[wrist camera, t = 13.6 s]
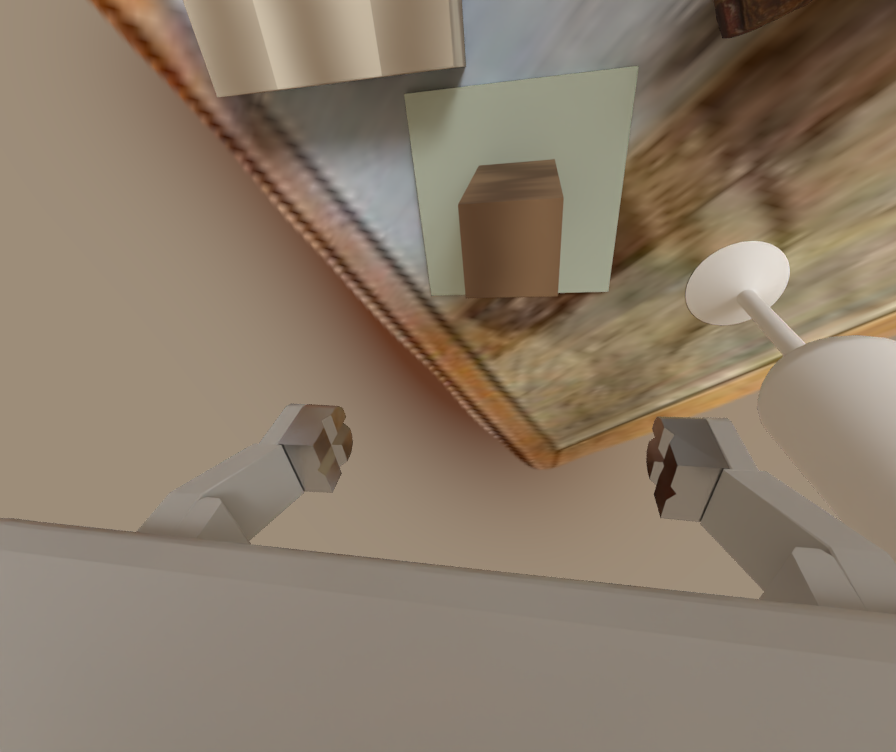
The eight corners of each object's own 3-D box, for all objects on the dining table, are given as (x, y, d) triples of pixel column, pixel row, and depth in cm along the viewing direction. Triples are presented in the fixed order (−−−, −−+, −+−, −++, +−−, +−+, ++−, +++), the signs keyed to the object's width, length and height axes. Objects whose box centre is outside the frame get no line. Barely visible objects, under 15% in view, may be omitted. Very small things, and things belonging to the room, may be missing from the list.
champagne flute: (743, 221, 28) (1185, 548, 9) (813, 273, 29) (1328, 657, 10) (664, 296, 32) (857, 634, 13) (728, 340, 33) (989, 706, 14)
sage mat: (636, 65, 24) (638, 65, 24) (607, 288, 32) (608, 291, 32) (405, 93, 27) (403, 94, 26) (432, 293, 35) (431, 295, 35)
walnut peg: (554, 159, 27) (563, 197, 19) (551, 235, 30) (557, 296, 22) (478, 165, 28) (457, 204, 20) (482, 238, 31) (465, 298, 23)
